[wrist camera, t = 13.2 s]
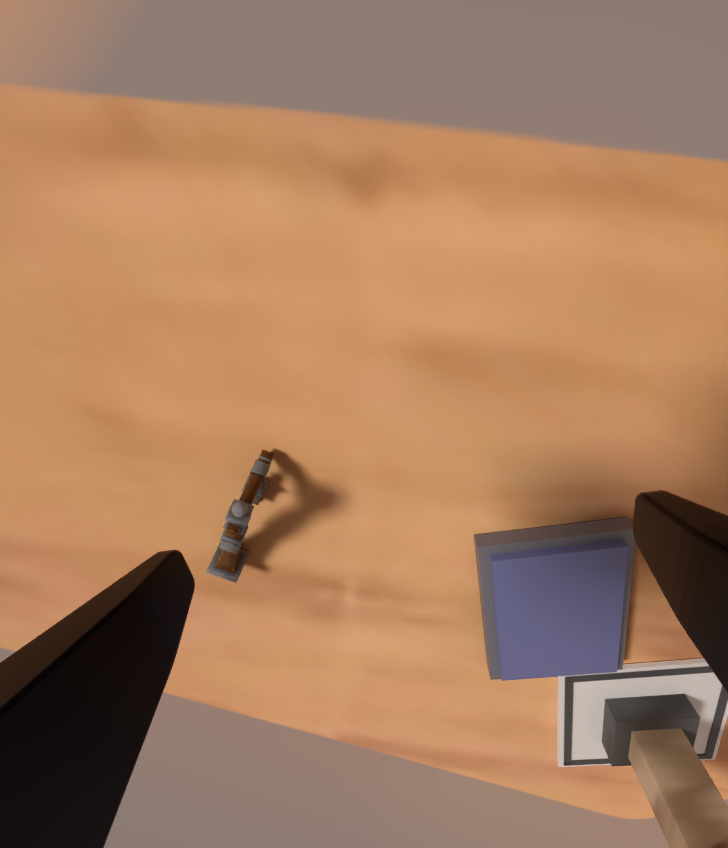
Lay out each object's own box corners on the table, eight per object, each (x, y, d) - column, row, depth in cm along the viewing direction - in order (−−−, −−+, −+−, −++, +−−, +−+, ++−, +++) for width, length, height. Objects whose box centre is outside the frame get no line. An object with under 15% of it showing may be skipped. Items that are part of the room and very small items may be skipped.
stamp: (684, 693, 27) (814, 894, 19) (675, 737, 29) (789, 936, 21) (604, 698, 28) (697, 895, 20) (601, 741, 30) (684, 936, 22)
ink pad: (626, 517, 22) (642, 535, 21) (614, 654, 26) (626, 677, 25) (473, 534, 23) (479, 553, 22) (487, 664, 27) (492, 687, 26)
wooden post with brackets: (289, 448, 20) (253, 530, 17) (264, 516, 26) (234, 586, 23) (254, 434, 20) (211, 515, 17) (237, 506, 26) (203, 575, 23)
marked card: (739, 655, 26) (744, 661, 26) (712, 754, 30) (716, 761, 30) (557, 669, 27) (559, 675, 27) (557, 762, 32) (559, 768, 31)
